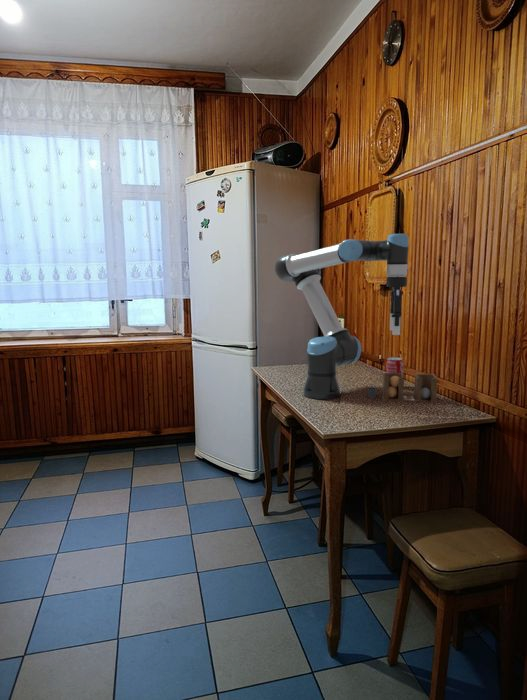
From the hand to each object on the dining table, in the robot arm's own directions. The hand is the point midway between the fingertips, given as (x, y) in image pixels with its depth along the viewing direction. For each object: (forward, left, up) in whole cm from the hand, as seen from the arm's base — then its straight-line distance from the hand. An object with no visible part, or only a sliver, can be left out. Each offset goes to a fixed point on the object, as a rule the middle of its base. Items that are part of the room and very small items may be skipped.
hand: (394, 332), depth 179 cm
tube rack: (+6, 0, -27) cm, 27 cm away
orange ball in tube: (0, 0, -26) cm, 26 cm away
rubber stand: (-8, 0, -27) cm, 28 cm away
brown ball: (-1, 0, -20) cm, 21 cm away
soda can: (+2, +20, -27) cm, 34 cm away
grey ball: (+12, 0, -26) cm, 28 cm away
